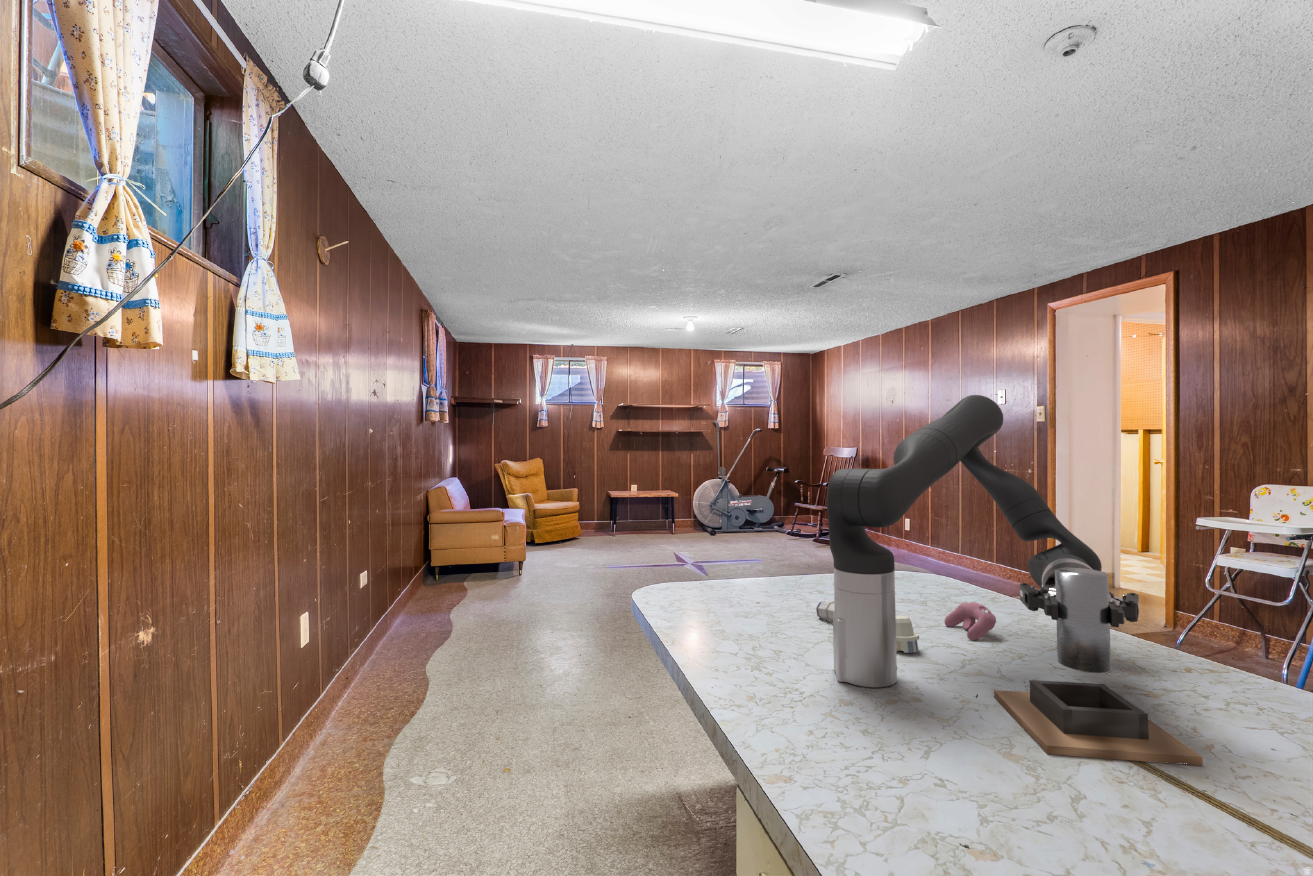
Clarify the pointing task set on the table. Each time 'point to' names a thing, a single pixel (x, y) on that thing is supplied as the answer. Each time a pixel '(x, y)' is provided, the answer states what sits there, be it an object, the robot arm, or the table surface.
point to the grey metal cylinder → (1083, 619)
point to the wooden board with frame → (1091, 723)
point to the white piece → (904, 629)
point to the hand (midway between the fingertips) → (1084, 615)
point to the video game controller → (972, 619)
